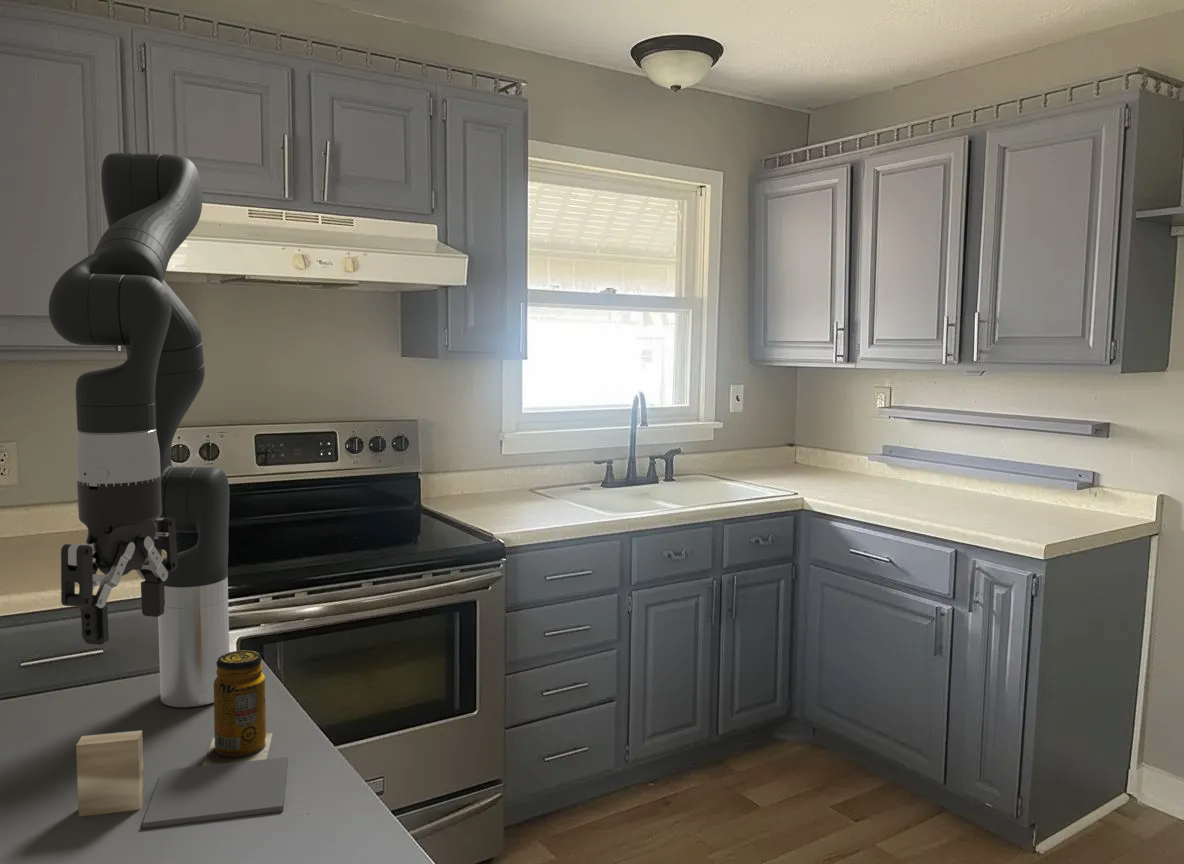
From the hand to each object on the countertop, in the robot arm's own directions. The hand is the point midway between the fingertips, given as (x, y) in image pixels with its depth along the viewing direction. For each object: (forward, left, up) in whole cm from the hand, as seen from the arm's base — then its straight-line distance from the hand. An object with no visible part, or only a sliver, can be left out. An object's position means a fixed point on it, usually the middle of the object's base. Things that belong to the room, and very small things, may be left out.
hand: (126, 628), depth 93 cm
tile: (-5, -3, -22) cm, 22 cm away
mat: (-5, +8, -22) cm, 24 cm away
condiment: (-16, +9, -22) cm, 28 cm away
